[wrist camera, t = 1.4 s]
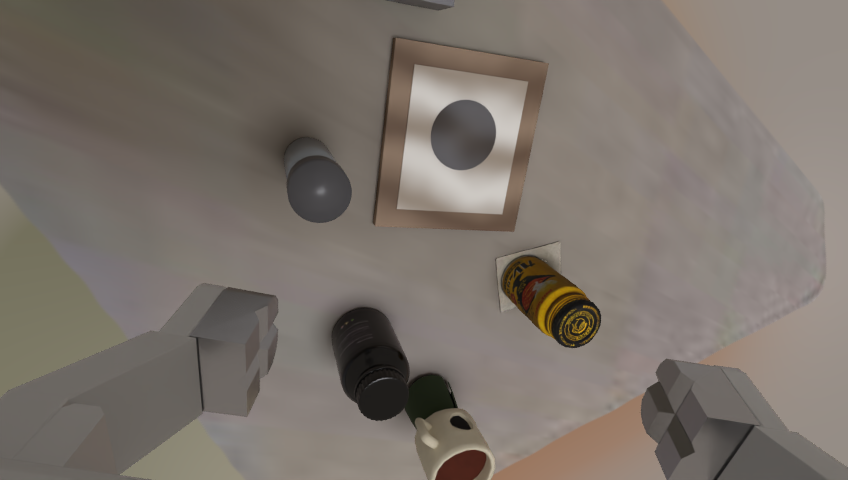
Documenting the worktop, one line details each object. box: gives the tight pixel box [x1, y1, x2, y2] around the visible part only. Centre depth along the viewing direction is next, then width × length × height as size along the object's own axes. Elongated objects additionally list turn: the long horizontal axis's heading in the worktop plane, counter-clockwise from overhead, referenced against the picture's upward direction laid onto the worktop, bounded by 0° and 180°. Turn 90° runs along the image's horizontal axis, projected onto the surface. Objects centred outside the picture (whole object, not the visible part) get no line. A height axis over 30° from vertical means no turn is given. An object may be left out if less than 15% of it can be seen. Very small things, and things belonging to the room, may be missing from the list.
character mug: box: [404, 375, 495, 480], centre depth 54 cm, size 11×7×13 cm, turn 42°
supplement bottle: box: [332, 308, 410, 421], centre depth 49 cm, size 7×7×12 cm
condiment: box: [496, 242, 601, 348], centre depth 53 cm, size 7×8×12 cm
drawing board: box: [373, 38, 549, 232], centre depth 49 cm, size 18×16×1 cm
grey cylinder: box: [284, 137, 352, 223], centre depth 41 cm, size 5×5×12 cm
